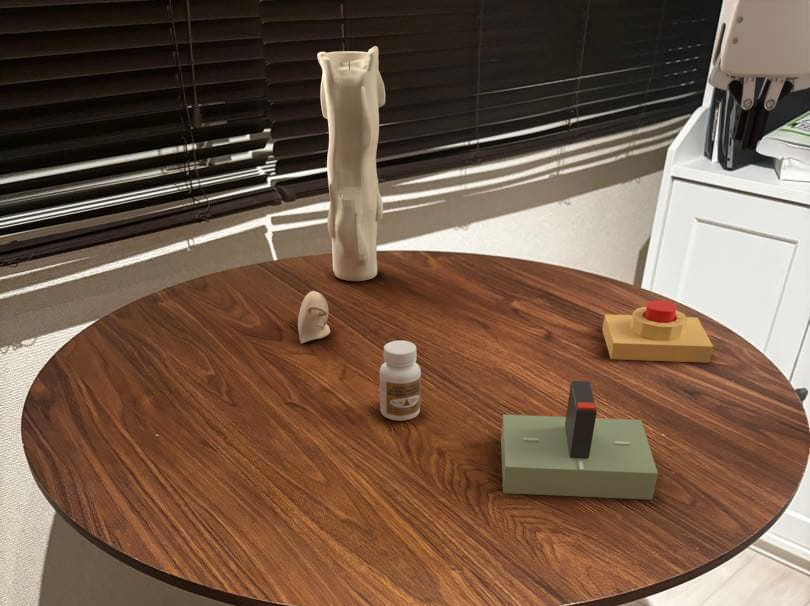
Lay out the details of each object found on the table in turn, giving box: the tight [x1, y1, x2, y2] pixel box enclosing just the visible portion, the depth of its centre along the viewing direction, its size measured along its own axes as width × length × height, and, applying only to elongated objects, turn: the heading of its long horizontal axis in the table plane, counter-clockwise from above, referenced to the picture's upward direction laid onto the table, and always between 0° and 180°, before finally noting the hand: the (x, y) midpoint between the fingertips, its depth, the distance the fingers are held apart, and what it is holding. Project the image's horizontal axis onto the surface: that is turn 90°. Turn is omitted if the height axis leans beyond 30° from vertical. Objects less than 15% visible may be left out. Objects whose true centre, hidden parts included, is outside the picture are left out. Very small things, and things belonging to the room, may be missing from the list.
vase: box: [316, 45, 386, 282], centre depth 114 cm, size 9×8×30 cm
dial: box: [565, 380, 598, 458], centre depth 77 cm, size 6×2×5 cm, turn 176°
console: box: [500, 414, 659, 501], centre depth 80 cm, size 14×10×3 cm
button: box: [645, 300, 678, 323], centre depth 101 cm, size 4×4×2 cm
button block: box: [601, 305, 714, 364], centre depth 102 cm, size 12×9×4 cm
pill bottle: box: [379, 340, 422, 422], centre depth 87 cm, size 4×4×8 cm
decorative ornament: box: [297, 290, 331, 344], centre depth 104 cm, size 4×8×5 cm, turn 7°
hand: (744, 147), depth 91 cm, fingers closed
